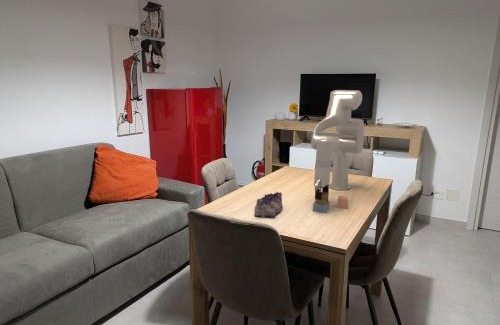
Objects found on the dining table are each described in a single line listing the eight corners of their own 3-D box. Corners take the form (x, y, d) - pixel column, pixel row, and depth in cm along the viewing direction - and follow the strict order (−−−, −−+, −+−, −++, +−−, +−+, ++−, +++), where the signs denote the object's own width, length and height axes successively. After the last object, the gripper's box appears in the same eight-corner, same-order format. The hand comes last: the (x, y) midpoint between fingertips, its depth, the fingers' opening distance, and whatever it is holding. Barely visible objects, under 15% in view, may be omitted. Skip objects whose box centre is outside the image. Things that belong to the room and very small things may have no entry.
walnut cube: (318, 200, 182) (319, 191, 181) (328, 202, 179) (328, 192, 178) (314, 203, 178) (315, 193, 176) (324, 204, 175) (325, 195, 174)
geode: (265, 204, 187) (268, 186, 185) (286, 210, 183) (289, 192, 180) (249, 215, 169) (252, 195, 167) (271, 222, 165) (275, 202, 162)
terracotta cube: (337, 204, 187) (338, 195, 186) (347, 205, 186) (348, 196, 185) (337, 207, 183) (337, 198, 181) (347, 208, 181) (347, 199, 180)
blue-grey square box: (315, 207, 183) (315, 199, 183) (329, 209, 181) (329, 201, 180) (312, 211, 177) (313, 204, 176) (326, 213, 175) (327, 205, 174)
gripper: (322, 159, 183) (320, 191, 187) (309, 165, 169) (307, 200, 172) (336, 161, 179) (334, 193, 183) (324, 168, 165) (322, 203, 169)
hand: (321, 196), depth 178 cm, fingers open, 9 cm apart
